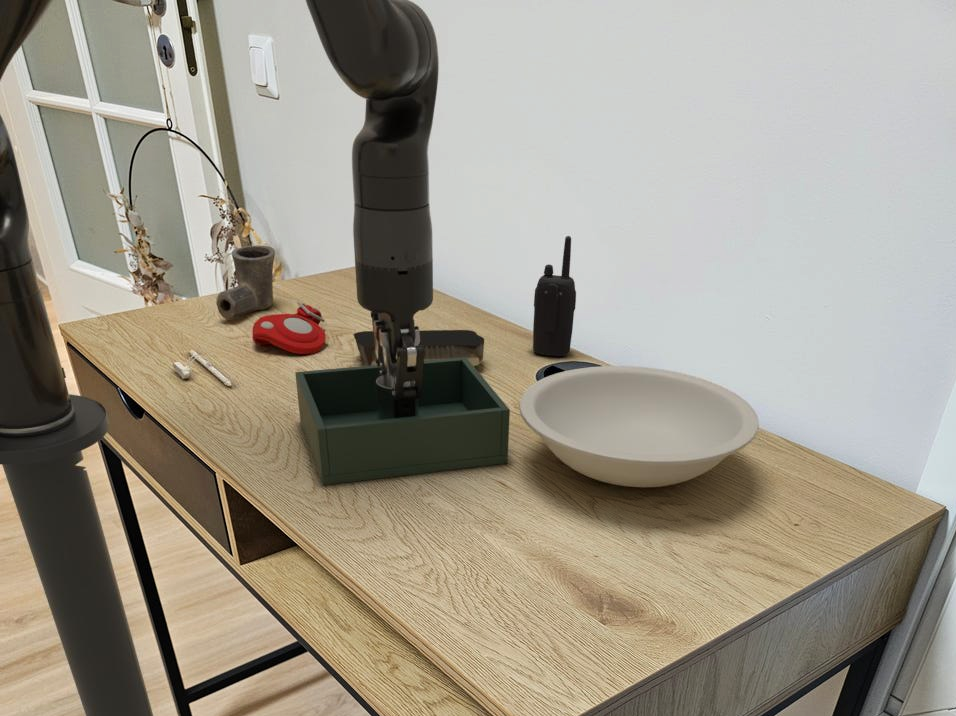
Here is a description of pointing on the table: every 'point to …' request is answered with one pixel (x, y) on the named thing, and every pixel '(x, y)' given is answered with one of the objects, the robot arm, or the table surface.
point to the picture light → (185, 370)
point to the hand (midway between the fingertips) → (399, 420)
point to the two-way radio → (554, 309)
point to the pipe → (249, 282)
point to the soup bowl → (637, 423)
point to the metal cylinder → (387, 398)
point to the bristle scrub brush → (432, 345)
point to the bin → (401, 423)
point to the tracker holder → (292, 330)
